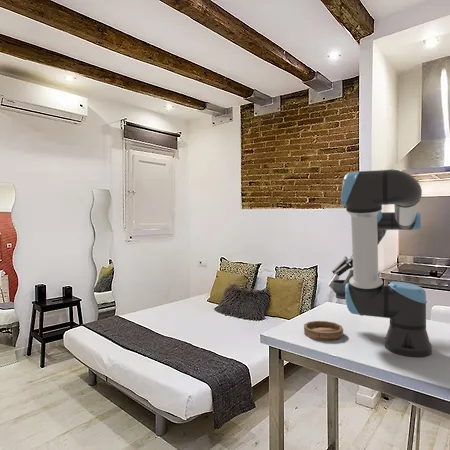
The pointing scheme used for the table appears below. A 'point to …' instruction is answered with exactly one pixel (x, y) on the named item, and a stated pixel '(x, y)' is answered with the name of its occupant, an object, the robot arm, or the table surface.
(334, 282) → the mortar and pestle
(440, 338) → the table surface
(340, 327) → the round wooden tray
